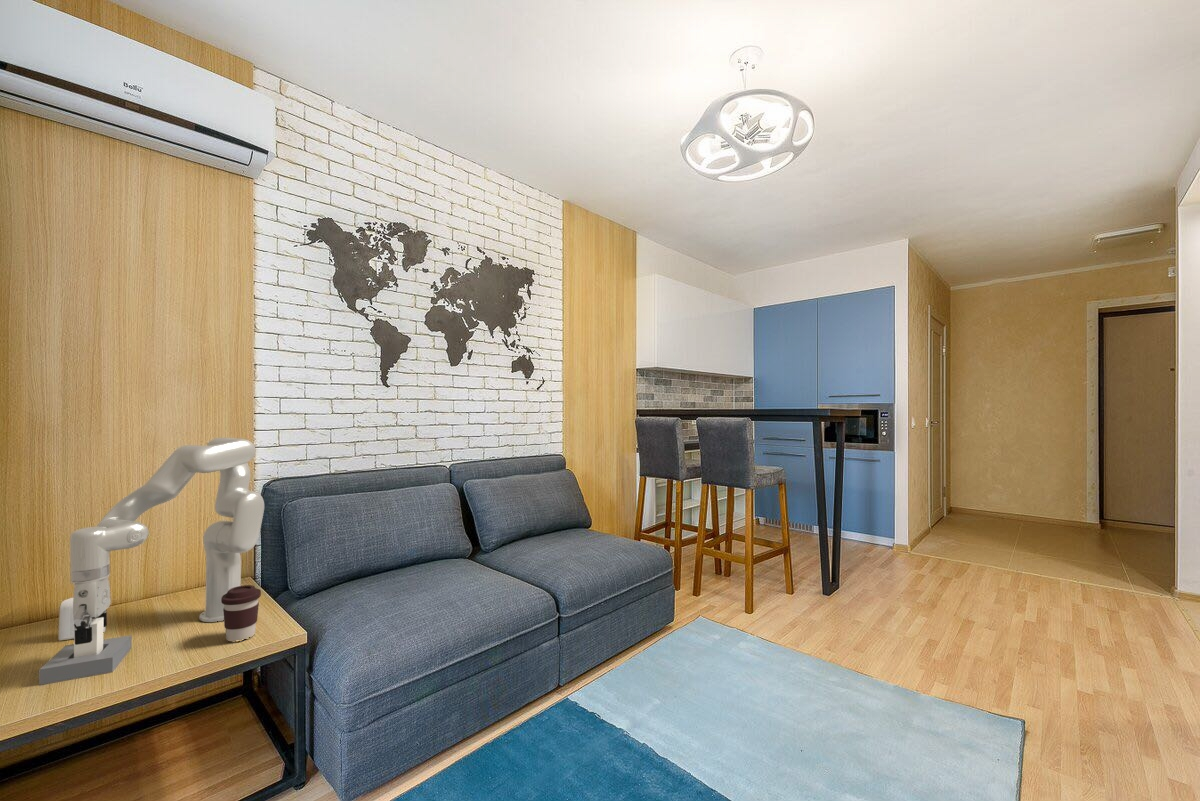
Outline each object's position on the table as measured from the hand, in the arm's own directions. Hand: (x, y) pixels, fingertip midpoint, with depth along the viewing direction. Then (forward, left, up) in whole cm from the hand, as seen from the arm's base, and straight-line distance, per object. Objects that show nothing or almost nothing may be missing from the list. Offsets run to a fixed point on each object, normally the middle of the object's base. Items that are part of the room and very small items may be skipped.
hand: (91, 635), depth 138 cm
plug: (0, 0, -8) cm, 8 cm away
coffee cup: (-34, -2, -8) cm, 35 cm away
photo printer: (+9, -24, -8) cm, 27 cm away
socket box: (0, 0, -8) cm, 8 cm away
